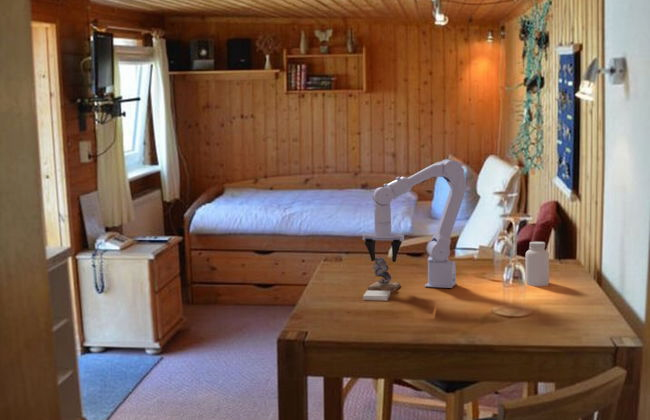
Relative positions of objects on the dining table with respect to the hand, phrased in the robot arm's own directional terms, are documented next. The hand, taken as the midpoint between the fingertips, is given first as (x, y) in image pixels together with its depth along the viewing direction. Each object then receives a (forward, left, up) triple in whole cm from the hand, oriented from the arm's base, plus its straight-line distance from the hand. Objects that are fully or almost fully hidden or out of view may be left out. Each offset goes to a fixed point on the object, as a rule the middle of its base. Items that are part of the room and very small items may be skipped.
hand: (383, 261), depth 275 cm
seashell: (0, 0, -8) cm, 8 cm away
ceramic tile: (-1, +11, -10) cm, 15 cm away
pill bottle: (-49, -22, -11) cm, 55 cm away
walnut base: (0, 0, -10) cm, 10 cm away
